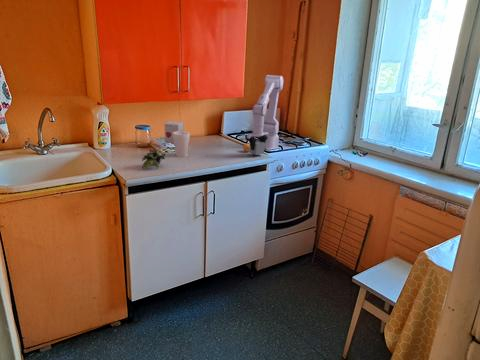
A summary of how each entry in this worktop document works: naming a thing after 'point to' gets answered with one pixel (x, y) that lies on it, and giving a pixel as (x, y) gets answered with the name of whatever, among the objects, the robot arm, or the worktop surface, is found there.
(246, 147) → the ball
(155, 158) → the green leafy clump
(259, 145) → the grey cube
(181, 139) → the foam cup
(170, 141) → the supplement box
